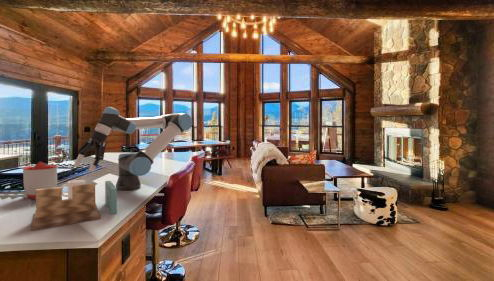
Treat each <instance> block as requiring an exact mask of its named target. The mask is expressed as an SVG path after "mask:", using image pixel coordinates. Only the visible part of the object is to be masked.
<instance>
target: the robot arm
mask: <svg viewBox="0 0 494 281" xmlns="http://www.w3.org/2000/svg"><path fill="white" fill-rule="evenodd" d="M192 127H193V119H192V116H191V115H190V114H189V113H186V112H185V113H184V112H179V113H170V114H169V113H168V114H163V115H159V116H152V117H133V118H131V117H130V118H129V117H128V118H127V117H123V116H121V115H120V111H119V110H118V109H116V108H114V107H112V106H106V107H105V109H104V110H103V112H102V115H101V116H100V118H99V119H98V122H97V124H96V126H95V128H94V131H92V133H91V136H90V137H88V138H87V139H86V141H85V142H84V143H83V144H82V145H81V146H80V148H79V149H78V150H77V153H78V156H77V157H76V159H75V161H74V163H73V166H75V167H76V166H77V167H80V166H81V164H82V161H83V159H84V157H85V155H86V154H87V153H89V151H91V150H92V149H94V156H95V157H93V160H92V162H91V163H90V166H89V167H88V171H90V172H92V173H93V172H95V170H96V167H97V166H98V164H99V163H100V162H101V161H103V160H104V157H105V150H106V146H107V143H106V141H107V139H108V136H109V135H110V133H111V131H113V132H124V133H125V134H129V135H132V134H133V133H134V132H135V131H136V130H144V129H157V128H160V129H163V130H162V131H161V133H160V134H158V136H156V137H155V138H154V140H152V141H151V142H150V143H149V144H148V145H147V146H146V147H145V148H144V149H143V150H138V152H127V153H126V152H125V153H120V154H119V155H118V157H117V161H118V177H117V180H116V184H115V187H116V188H117V191H133V190H137V189H140V188H141V186H142V185H141V184H142V183H141V180H140V178H139V177H143V176H146V175H147V174H148V173H149V172H150V171H151V169H152V165H153V164H154V160H155V158H156V157H158V156H159V155H160V153H162V151H163V150H164V149H165V148H166V147H167V146H168V145H169V144H170V143H171V142H172V141H173V140H174V139H175V138H176V137H177V136H181V135H182V134H183V133H184V132H185V131H188V130H190V129H191V128H192Z"/></svg>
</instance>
